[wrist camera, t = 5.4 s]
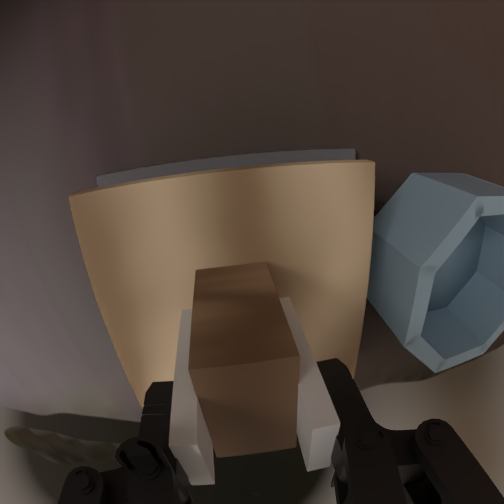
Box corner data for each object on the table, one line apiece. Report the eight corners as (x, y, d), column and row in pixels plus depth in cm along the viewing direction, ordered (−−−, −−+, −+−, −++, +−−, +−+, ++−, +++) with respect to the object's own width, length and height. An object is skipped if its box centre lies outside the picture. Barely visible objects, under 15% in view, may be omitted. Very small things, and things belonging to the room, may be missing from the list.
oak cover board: (144, 399, 17) (131, 493, 11) (75, 192, 12) (-16, 253, 6) (348, 373, 18) (389, 458, 12) (366, 159, 13) (471, 197, 7)
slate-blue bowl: (356, 329, 21) (391, 387, 16) (367, 173, 17) (427, 198, 11) (467, 302, 22) (509, 341, 16) (489, 173, 18) (548, 195, 12)
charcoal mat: (152, 371, 21) (151, 376, 20) (99, 175, 15) (95, 176, 15) (342, 348, 22) (344, 352, 21) (351, 148, 16) (355, 148, 16)
